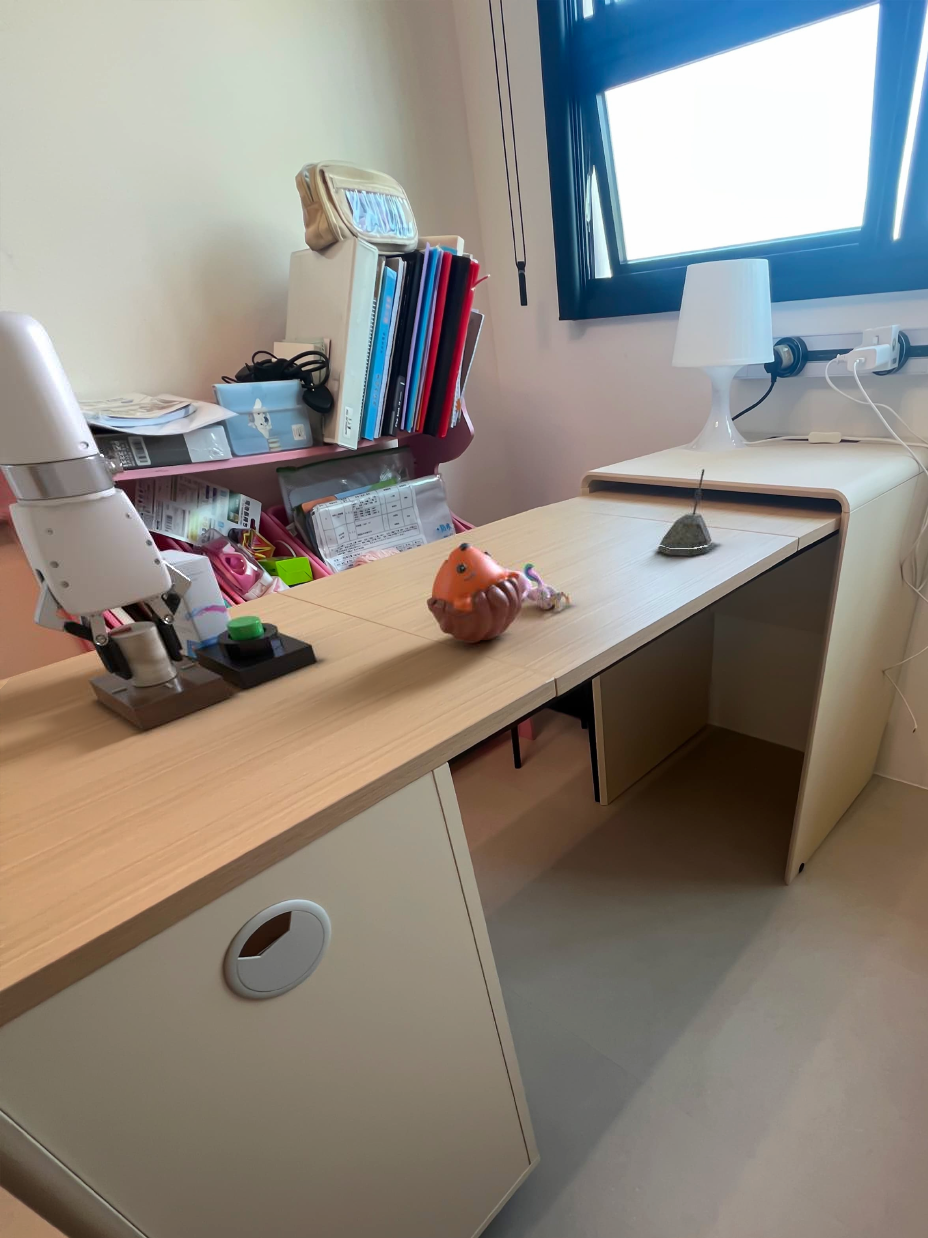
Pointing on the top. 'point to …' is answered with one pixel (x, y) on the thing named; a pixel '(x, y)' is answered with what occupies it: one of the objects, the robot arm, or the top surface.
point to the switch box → (255, 656)
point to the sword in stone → (688, 533)
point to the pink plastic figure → (538, 589)
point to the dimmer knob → (144, 653)
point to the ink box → (197, 602)
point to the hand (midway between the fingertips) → (149, 665)
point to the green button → (245, 627)
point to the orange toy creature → (474, 596)
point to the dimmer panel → (161, 695)
